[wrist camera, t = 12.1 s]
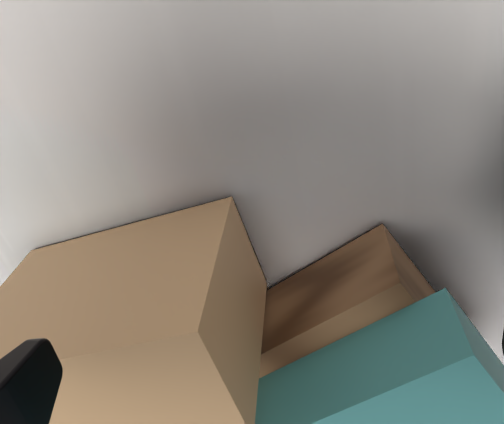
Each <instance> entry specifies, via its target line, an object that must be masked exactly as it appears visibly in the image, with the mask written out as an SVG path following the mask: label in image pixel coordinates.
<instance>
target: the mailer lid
mask: <svg viewBox="0 0 504 424" xmlns="http://www.w3.org/2000/svg"><path fill="white" fill-rule="evenodd" d="M255 424H504V365H503V364H502V363H501V361H500V360H499V359H498V357H497V356H496V355H495V353H494V352H493V351H492V349H491V348H490V346H489V345H488V344H487V342H486V341H485V340H484V338H483V337H482V336H481V334H480V333H479V332H478V330H477V329H476V328H475V326H474V325H473V324H472V322H471V321H470V320H469V318H468V317H467V316H466V314H465V313H464V312H463V310H462V309H461V308H460V306H459V305H458V304H457V302H456V301H455V300H454V298H453V297H452V296H451V294H450V293H449V292H448V290H447V289H446V288H444V289H442V290H440V291H438V292H436V293H434V294H432V295H429V296H427V297H425V298H423V299H421V300H419V301H417V302H415V303H413V304H411V305H409V306H407V307H405V308H403V309H401V310H399V311H397V312H395V313H393V314H391V315H389V316H386V317H384V318H382V319H380V320H378V321H376V322H374V323H372V324H370V325H368V326H366V327H364V328H362V329H360V330H358V331H356V332H354V333H352V334H350V335H348V336H346V337H343V338H341V339H339V340H337V341H335V342H333V343H331V344H329V345H327V346H325V347H323V348H321V349H319V350H317V351H315V352H313V353H311V354H309V355H307V356H305V357H302V358H300V359H298V360H296V361H294V362H292V363H290V364H288V365H286V366H284V367H282V368H280V369H278V370H276V371H274V372H272V373H270V374H268V375H266V376H264V377H262V378H259V381H258V393H257V404H256V415H255Z"/></svg>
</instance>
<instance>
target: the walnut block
mask: <svg viewBox="0 0 504 424" xmlns="http://www.w3.org/2000/svg"><path fill="white" fill-rule="evenodd" d="M434 293H436V292H435V291H434V290H433V288H432V287H431V286H430V284H429V283H428V282H427V281H426V279H425V278H424V277H423V275H422V274H421V273H420V271H419V270H418V269H417V268H416V266H415V265H414V264H413V262H412V261H411V260H410V258H409V257H408V256H407V255H406V253H405V252H404V251H403V249H402V248H401V247H400V245H399V244H398V243H397V242H396V240H395V239H394V238H393V236H392V235H391V234H390V232H389V231H388V230H387V229H386V227H385V226H384V225H383V224H381V225H379V226H378V227H376V228H374V229H373V230H371V231H369V232H367V233H366V234H364V235H362V236H360V237H359V238H357V239H355V240H353V241H352V242H350V243H348V244H347V245H345V246H343V247H341V248H340V249H338V250H336V251H334V252H333V253H331V254H329V255H327V256H326V257H324V258H322V259H320V260H319V261H317V262H315V263H314V264H312V265H310V266H308V267H307V268H305V269H303V270H301V271H300V272H298V273H296V274H294V275H293V276H291V277H289V278H287V279H286V280H284V281H282V282H281V283H279V284H277V285H275V286H274V287H272V288H270V289H268V290H267V291H266V302H265V313H264V325H263V336H262V347H261V359H260V370H259V378H262V377H264V376H266V375H268V374H270V373H272V372H274V371H276V370H278V369H280V368H282V367H284V366H286V365H288V364H290V363H292V362H294V361H296V360H298V359H300V358H302V357H305V356H307V355H309V354H311V353H313V352H315V351H317V350H319V349H321V348H323V347H325V346H327V345H329V344H331V343H333V342H335V341H337V340H339V339H341V338H343V337H346V336H348V335H350V334H352V333H354V332H356V331H358V330H360V329H362V328H364V327H366V326H368V325H370V324H372V323H374V322H376V321H378V320H380V319H382V318H384V317H386V316H389V315H391V314H393V313H395V312H397V311H399V310H401V309H403V308H405V307H407V306H409V305H411V304H413V303H415V302H417V301H419V300H421V299H423V298H425V297H427V296H429V295H432V294H434Z"/></svg>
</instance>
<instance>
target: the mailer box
mask: <svg viewBox="0 0 504 424" xmlns="http://www.w3.org/2000/svg"><path fill="white" fill-rule="evenodd" d="M266 291H267V282H266V280H265V277H264V275H263V272H262V270H261V267H260V265H259V262H258V260H257V257H256V255H255V253H254V250H253V248H252V245H251V243H250V240H249V238H248V235H247V233H246V230H245V228H244V225H243V223H242V220H241V218H240V215H239V213H238V210H237V208H236V206H235V203H234V201H233V198H232V197H228V198H225V199H221V200H217V201H214V202H210V203H206V204H202V205H199V206H195V207H191V208H187V209H184V210H180V211H176V212H173V213H169V214H165V215H161V216H158V217H154V218H150V219H147V220H143V221H139V222H135V223H132V224H128V225H124V226H121V227H117V228H113V229H109V230H106V231H102V232H98V233H94V234H91V235H87V236H83V237H80V238H76V239H72V240H68V241H65V242H61V243H57V244H54V245H50V246H46V247H42V248H39V249H35V250H31V251H30V253H29V254H28V255H27V256H26V257H25V258H24V260H23V261H22V262H21V263H20V264H19V265H18V267H17V268H16V269H15V270H14V271H13V272H12V274H11V275H10V276H9V277H8V278H7V279H6V281H5V282H4V283H3V284H2V285H1V286H0V359H1V358H2V357H4V356H5V355H6V354H8V353H9V352H10V351H12V350H13V349H15V348H16V347H17V346H19V345H20V344H21V343H23V342H24V341H26V340H28V339H36V338H46V339H48V340H49V341H50V342H51V344H52V346H53V348H54V350H55V352H56V354H57V356H58V358H59V360H60V362H61V364H62V368H63V375H62V380H61V383H60V387H59V390H58V394H57V397H56V401H55V404H54V408H53V411H52V415H51V418H50V422H49V424H255V415H256V404H257V393H258V381H259V370H260V359H261V347H262V336H263V325H264V313H265V302H266Z"/></svg>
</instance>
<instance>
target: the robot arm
mask: <svg viewBox="0 0 504 424" xmlns="http://www.w3.org/2000/svg"><path fill="white" fill-rule="evenodd" d="M502 349H503V354H504V331H503V339H502ZM62 375H63V368H62V364H61V362H60V360H59V358H58V356H57V354H56V352H55V350H54V348H53V346H52V344H51V342H50V341H49V340H48V339H46V338H36V339H28V340H26V341H24V342H23V343H21V344H20V345H19V346H17V347H16V348H15V349H13V350H12V351H10V352H9V353H8V354H6V355H5V356H4V357H2V358H1V359H0V424H49V422H50V418H51V415H52V411H53V408H54V404H55V401H56V397H57V394H58V390H59V387H60V383H61V380H62Z"/></svg>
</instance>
